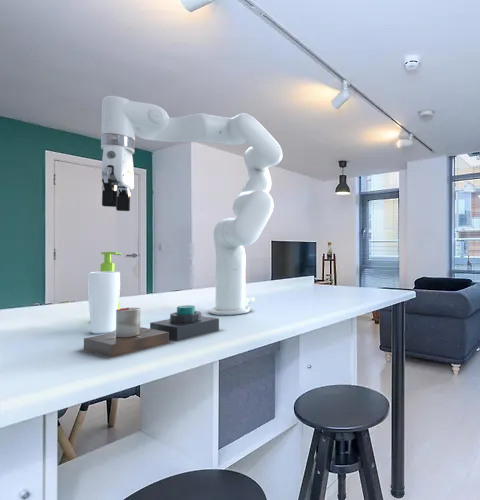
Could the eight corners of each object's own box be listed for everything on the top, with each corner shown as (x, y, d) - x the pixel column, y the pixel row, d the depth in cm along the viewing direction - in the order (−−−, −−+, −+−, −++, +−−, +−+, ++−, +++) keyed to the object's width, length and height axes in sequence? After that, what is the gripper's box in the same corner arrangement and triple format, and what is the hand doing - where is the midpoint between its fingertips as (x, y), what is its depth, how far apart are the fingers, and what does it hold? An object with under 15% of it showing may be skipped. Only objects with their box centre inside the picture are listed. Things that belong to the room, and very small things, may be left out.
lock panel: (141, 337, 82) (141, 326, 82) (169, 343, 77) (169, 331, 77) (83, 350, 71) (83, 337, 71) (111, 357, 67) (111, 344, 67)
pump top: (187, 312, 89) (187, 304, 89) (198, 314, 88) (198, 306, 88) (173, 315, 86) (173, 307, 86) (184, 316, 84) (184, 308, 84)
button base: (192, 326, 94) (192, 308, 94) (219, 330, 90) (219, 311, 90) (149, 335, 84) (150, 315, 84) (177, 341, 79) (177, 319, 79)
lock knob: (132, 331, 77) (132, 305, 77) (144, 333, 75) (144, 307, 75) (111, 335, 73) (111, 308, 73) (123, 338, 71) (123, 310, 71)
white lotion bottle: (94, 336, 83) (95, 273, 83) (81, 332, 86) (82, 272, 86) (125, 330, 89) (125, 272, 89) (112, 327, 92) (112, 271, 92)
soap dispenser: (109, 323, 97) (110, 252, 97) (89, 322, 98) (89, 251, 98) (127, 319, 103) (127, 251, 103) (107, 318, 104) (108, 251, 104)
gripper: (122, 136, 86) (121, 205, 86) (143, 155, 103) (141, 212, 103) (87, 133, 84) (85, 203, 84) (114, 152, 101) (112, 211, 100)
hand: (116, 208), depth 93 cm, fingers open, 9 cm apart
